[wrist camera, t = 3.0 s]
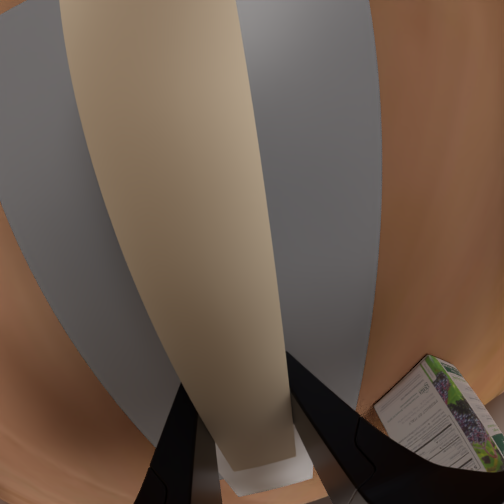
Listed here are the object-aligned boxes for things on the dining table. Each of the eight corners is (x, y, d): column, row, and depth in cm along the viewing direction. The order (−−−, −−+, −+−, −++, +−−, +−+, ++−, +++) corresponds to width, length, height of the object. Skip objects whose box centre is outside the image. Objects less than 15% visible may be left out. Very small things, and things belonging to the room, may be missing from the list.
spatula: (266, -10, 5) (314, -50, 3) (308, 466, 18) (320, 499, 16) (48, 41, 5) (-14, 29, 3) (235, 484, 17) (244, 519, 15)
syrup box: (455, 363, 21) (544, 494, 9) (405, 410, 23) (477, 541, 11) (427, 351, 18) (536, 517, 6) (368, 407, 20) (449, 569, 8)
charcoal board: (341, -41, 7) (358, -50, 6) (341, 432, 22) (347, 444, 21) (-18, 40, 6) (-37, 38, 5) (190, 470, 20) (192, 484, 19)
